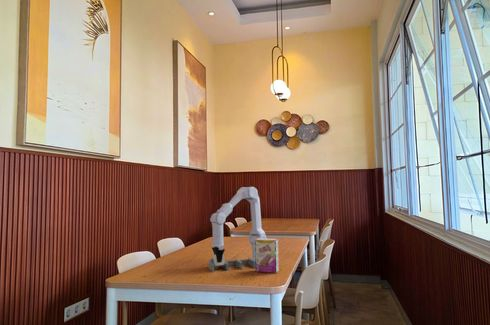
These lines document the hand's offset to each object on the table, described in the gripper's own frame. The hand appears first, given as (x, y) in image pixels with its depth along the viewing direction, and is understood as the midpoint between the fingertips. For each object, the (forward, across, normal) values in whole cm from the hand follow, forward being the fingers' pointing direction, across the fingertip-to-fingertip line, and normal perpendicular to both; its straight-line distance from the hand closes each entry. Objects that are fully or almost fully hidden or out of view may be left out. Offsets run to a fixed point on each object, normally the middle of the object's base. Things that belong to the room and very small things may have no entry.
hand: (218, 261), depth 189 cm
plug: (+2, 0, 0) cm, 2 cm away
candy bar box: (+4, +15, +22) cm, 27 cm away
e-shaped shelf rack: (+4, -1, +8) cm, 9 cm away
